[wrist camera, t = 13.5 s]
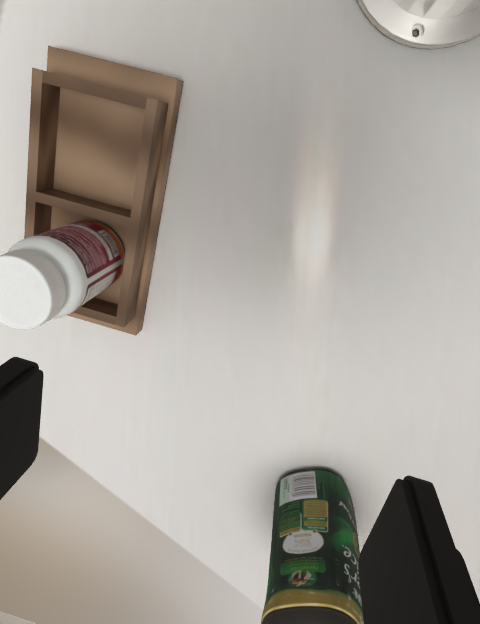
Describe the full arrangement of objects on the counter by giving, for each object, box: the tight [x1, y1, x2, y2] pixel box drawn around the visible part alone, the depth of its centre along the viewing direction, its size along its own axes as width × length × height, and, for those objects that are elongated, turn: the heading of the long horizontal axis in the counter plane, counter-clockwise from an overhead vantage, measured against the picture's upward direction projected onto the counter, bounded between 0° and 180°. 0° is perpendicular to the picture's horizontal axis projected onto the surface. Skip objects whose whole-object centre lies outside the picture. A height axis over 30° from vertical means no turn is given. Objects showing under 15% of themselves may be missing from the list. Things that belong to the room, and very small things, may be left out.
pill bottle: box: [0, 220, 125, 330], centre depth 34 cm, size 6×6×11 cm
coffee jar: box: [261, 470, 364, 624], centre depth 38 cm, size 10×8×19 cm
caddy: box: [24, 46, 183, 335], centre depth 37 cm, size 22×10×4 cm, turn 166°
